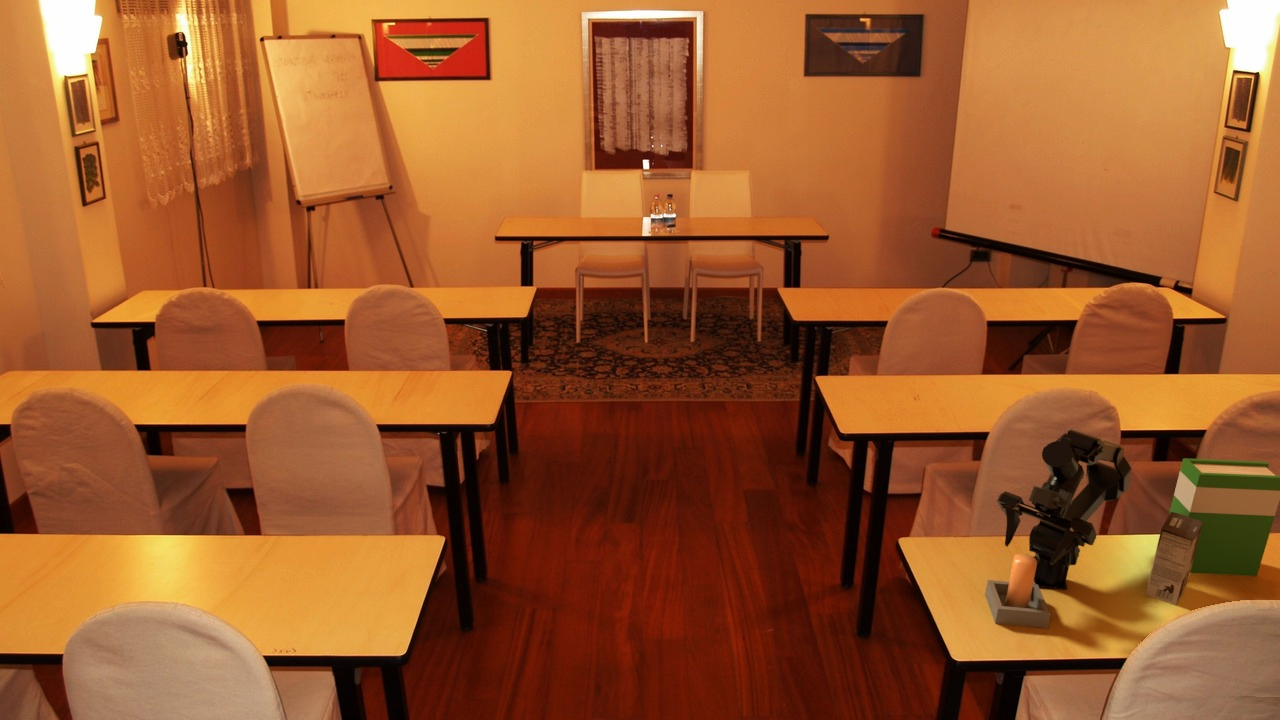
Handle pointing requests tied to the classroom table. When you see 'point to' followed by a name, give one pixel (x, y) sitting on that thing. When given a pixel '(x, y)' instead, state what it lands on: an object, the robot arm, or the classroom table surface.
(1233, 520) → the hardback book
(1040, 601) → the tray
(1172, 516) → the coffee box
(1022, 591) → the orange cylinder
